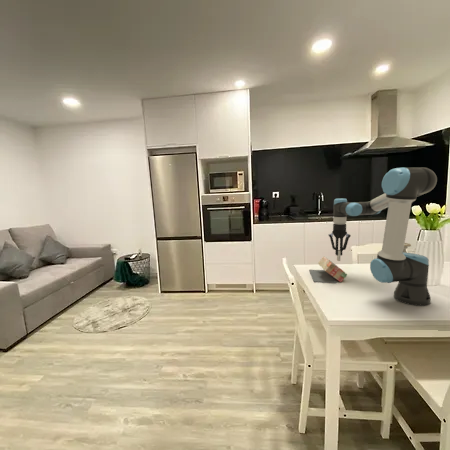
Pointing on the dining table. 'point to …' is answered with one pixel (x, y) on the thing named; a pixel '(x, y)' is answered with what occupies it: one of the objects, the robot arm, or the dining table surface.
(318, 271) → the mat
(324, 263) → the stack of blocks
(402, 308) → the dining table surface
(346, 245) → the robot arm
